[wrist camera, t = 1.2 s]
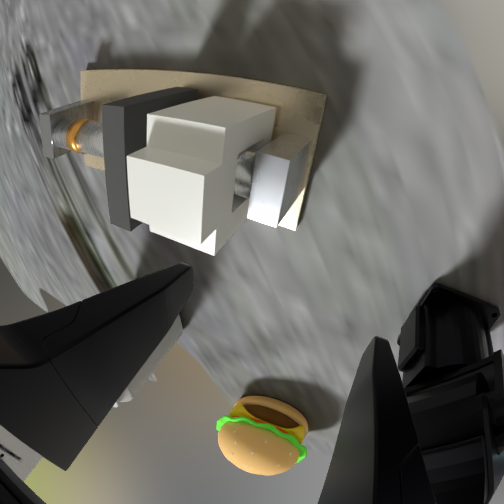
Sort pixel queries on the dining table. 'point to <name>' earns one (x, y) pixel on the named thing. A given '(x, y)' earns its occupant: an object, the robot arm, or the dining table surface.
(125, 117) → the block
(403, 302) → the dining table surface
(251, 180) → the beige mechanical fixture
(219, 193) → the bracket
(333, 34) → the dining table surface
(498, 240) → the dining table surface
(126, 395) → the can
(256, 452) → the hamburger
